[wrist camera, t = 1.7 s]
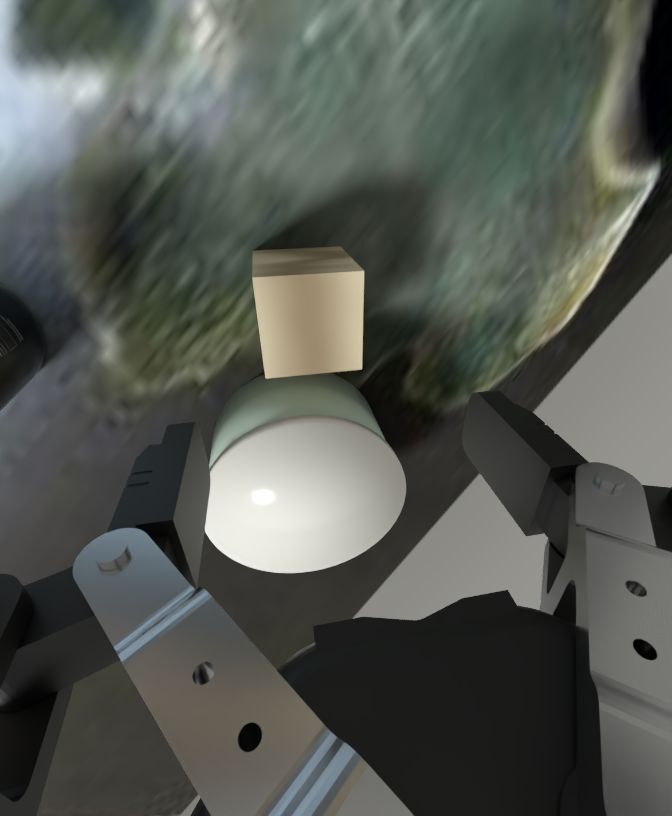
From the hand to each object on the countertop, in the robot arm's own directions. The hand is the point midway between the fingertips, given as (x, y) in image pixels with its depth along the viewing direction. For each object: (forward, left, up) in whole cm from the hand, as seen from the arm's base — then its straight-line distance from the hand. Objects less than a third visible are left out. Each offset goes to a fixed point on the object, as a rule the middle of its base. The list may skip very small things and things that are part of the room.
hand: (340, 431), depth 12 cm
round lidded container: (+1, +11, -15) cm, 18 cm away
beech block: (0, 0, -15) cm, 15 cm away
